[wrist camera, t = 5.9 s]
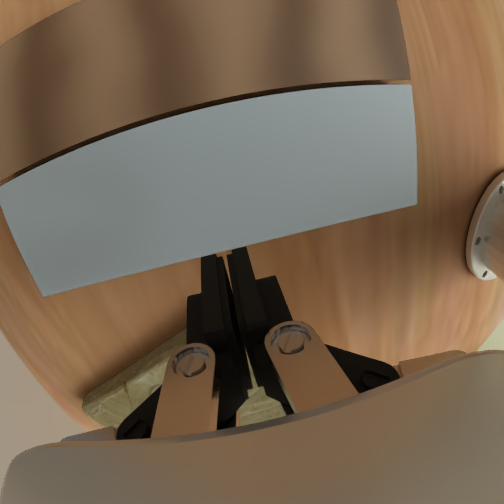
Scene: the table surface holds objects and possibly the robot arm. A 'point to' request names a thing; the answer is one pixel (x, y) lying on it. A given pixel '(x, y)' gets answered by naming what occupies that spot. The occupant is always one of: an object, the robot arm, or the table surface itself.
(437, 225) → the table surface
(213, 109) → the grey-blue plank
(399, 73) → the walnut plank
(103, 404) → the decorative tile
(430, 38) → the table surface
